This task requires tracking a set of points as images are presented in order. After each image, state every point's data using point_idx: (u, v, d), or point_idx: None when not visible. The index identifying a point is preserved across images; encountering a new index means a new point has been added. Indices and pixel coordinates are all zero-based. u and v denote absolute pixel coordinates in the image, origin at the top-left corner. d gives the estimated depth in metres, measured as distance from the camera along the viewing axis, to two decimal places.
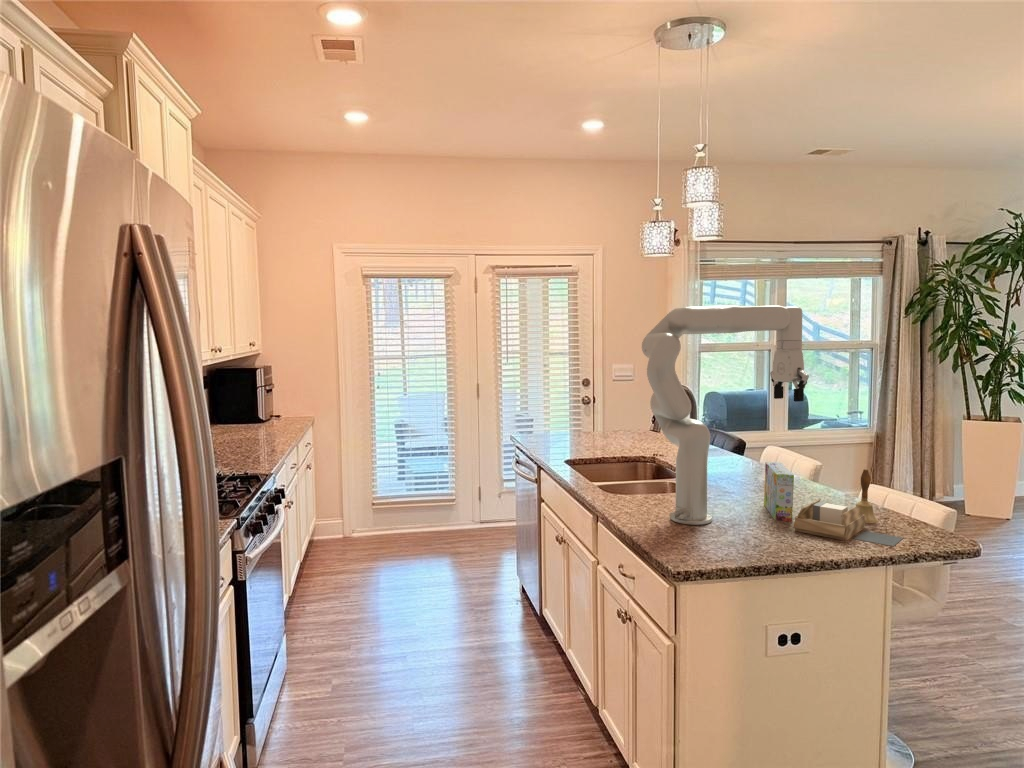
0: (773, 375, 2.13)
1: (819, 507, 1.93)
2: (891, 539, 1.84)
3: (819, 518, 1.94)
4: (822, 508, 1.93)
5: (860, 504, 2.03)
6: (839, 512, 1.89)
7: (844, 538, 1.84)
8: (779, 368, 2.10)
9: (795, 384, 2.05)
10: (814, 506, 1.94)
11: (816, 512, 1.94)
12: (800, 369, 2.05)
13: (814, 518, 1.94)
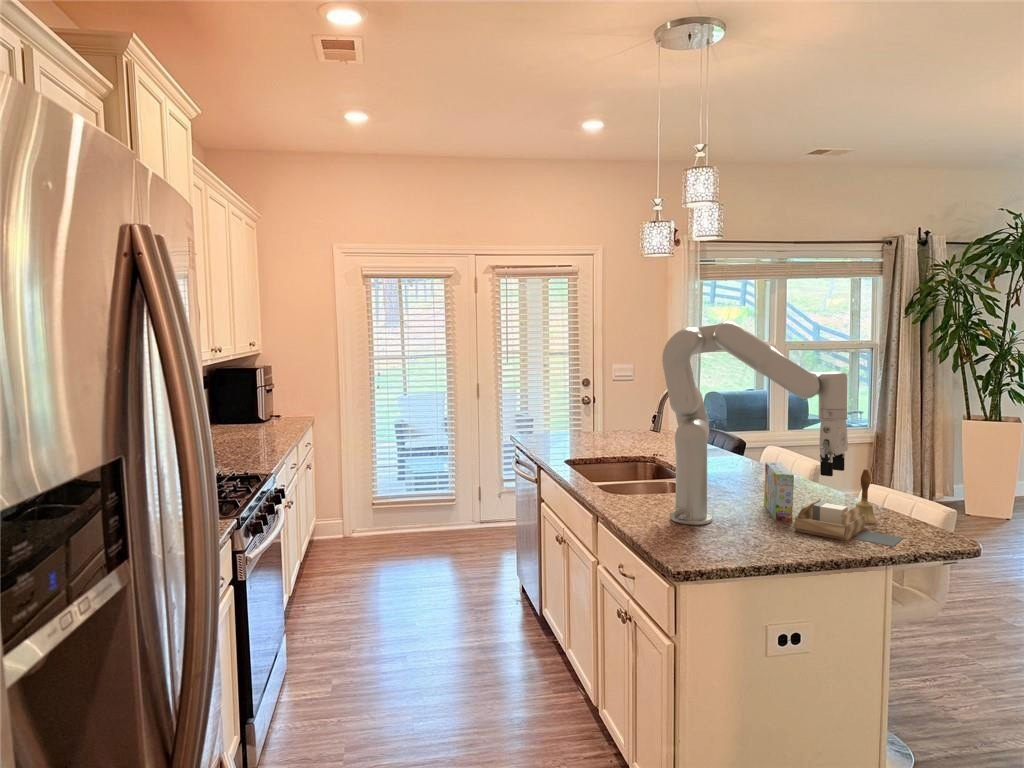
0: (837, 449, 1.87)
1: (819, 507, 1.93)
2: (891, 539, 1.84)
3: (819, 518, 1.94)
4: (822, 508, 1.93)
5: (860, 504, 2.03)
6: (839, 512, 1.89)
7: (844, 538, 1.84)
8: (842, 439, 1.89)
9: (843, 452, 1.95)
10: (814, 506, 1.94)
11: (816, 512, 1.94)
12: None
13: (814, 518, 1.94)
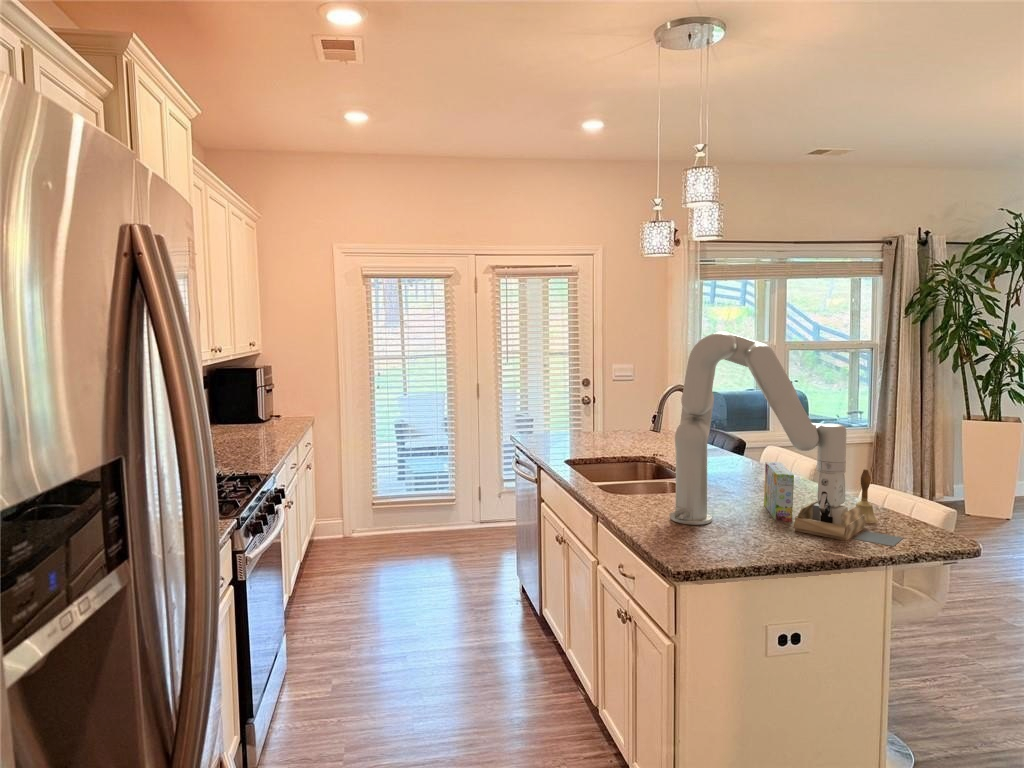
0: (835, 502, 1.89)
1: None
2: (891, 539, 1.84)
3: (819, 518, 1.94)
4: None
5: (860, 504, 2.03)
6: (839, 512, 1.89)
7: (844, 538, 1.84)
8: (839, 492, 1.91)
9: None
10: (814, 506, 1.94)
11: (816, 512, 1.94)
12: None
13: (814, 518, 1.94)
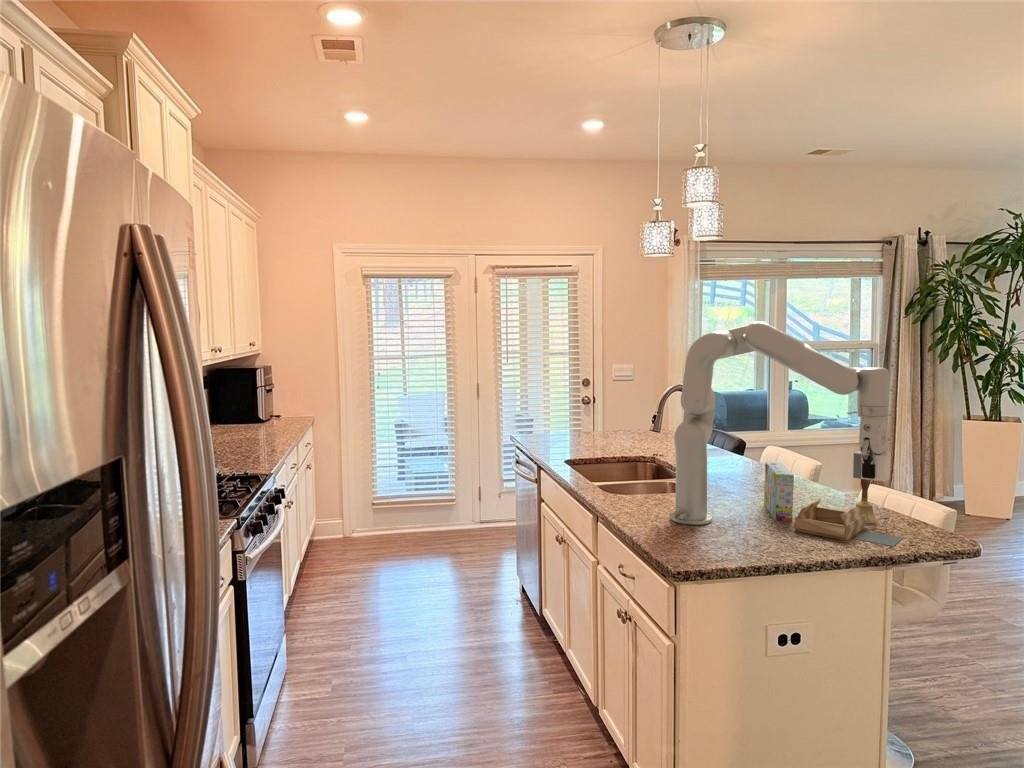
0: (878, 448, 1.80)
1: (860, 455, 1.85)
2: (891, 539, 1.84)
3: (860, 466, 1.85)
4: None
5: (860, 504, 2.03)
6: (882, 459, 1.81)
7: (844, 538, 1.84)
8: (882, 438, 1.82)
9: None
10: (855, 454, 1.86)
11: (857, 461, 1.85)
12: None
13: (855, 466, 1.86)
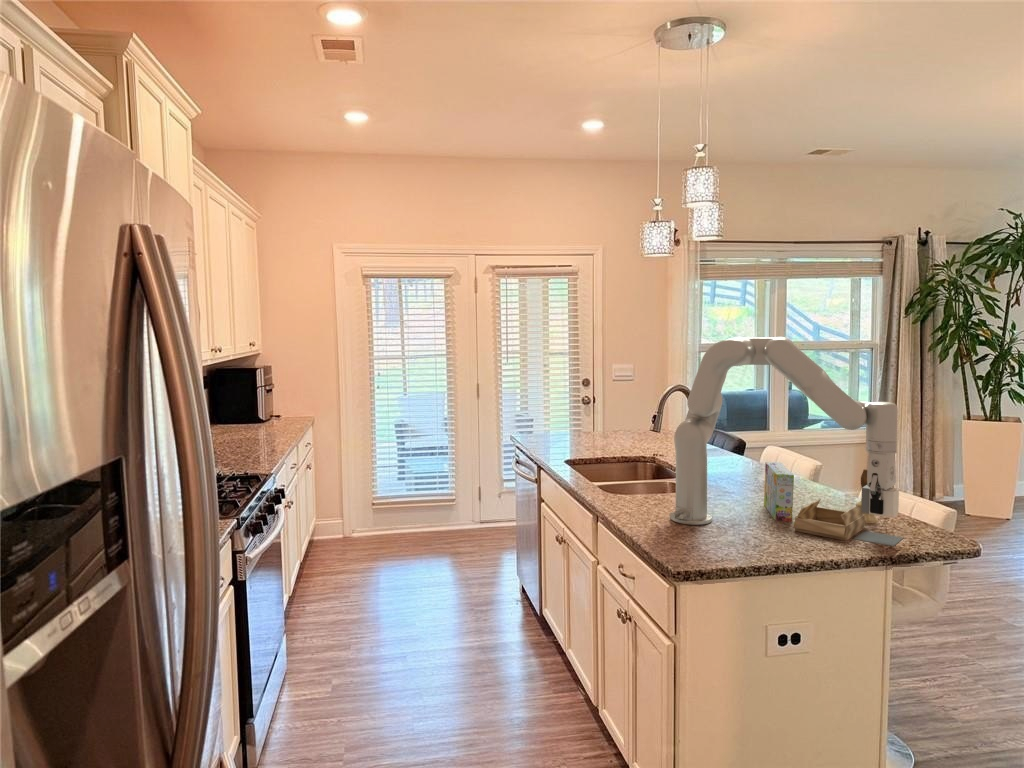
0: (887, 484, 1.79)
1: (869, 490, 1.84)
2: (891, 539, 1.84)
3: (868, 501, 1.84)
4: None
5: (860, 504, 2.03)
6: (891, 494, 1.80)
7: (844, 538, 1.84)
8: (890, 473, 1.81)
9: None
10: (863, 489, 1.85)
11: (865, 495, 1.84)
12: None
13: (863, 501, 1.85)
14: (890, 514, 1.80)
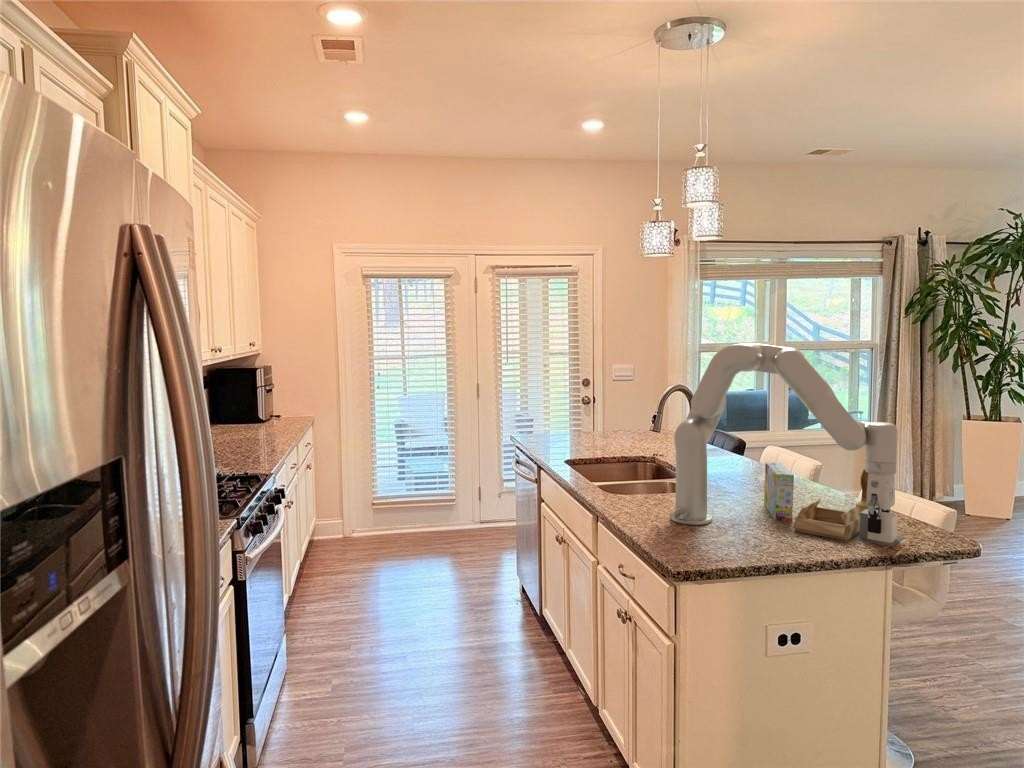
0: (886, 504, 1.80)
1: (867, 515, 1.84)
2: None
3: (867, 526, 1.84)
4: None
5: (860, 504, 2.03)
6: (889, 520, 1.80)
7: (844, 538, 1.84)
8: (890, 494, 1.81)
9: (889, 508, 1.87)
10: (862, 514, 1.85)
11: (863, 520, 1.85)
12: None
13: (861, 526, 1.85)
14: (888, 540, 1.81)
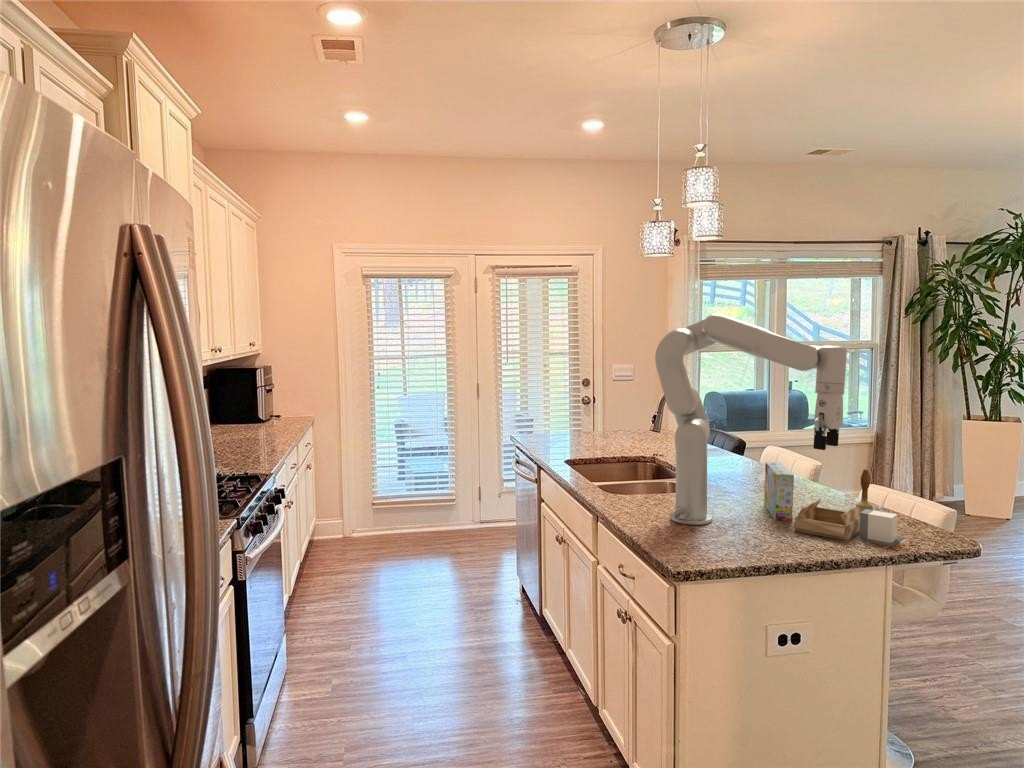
0: (832, 423, 1.87)
1: (867, 515, 1.84)
2: None
3: (867, 526, 1.84)
4: (870, 516, 1.84)
5: (860, 504, 2.03)
6: (889, 520, 1.80)
7: (844, 538, 1.84)
8: (837, 414, 1.89)
9: (838, 428, 1.94)
10: (862, 514, 1.85)
11: (863, 520, 1.85)
12: None
13: (861, 526, 1.85)
14: (888, 540, 1.81)
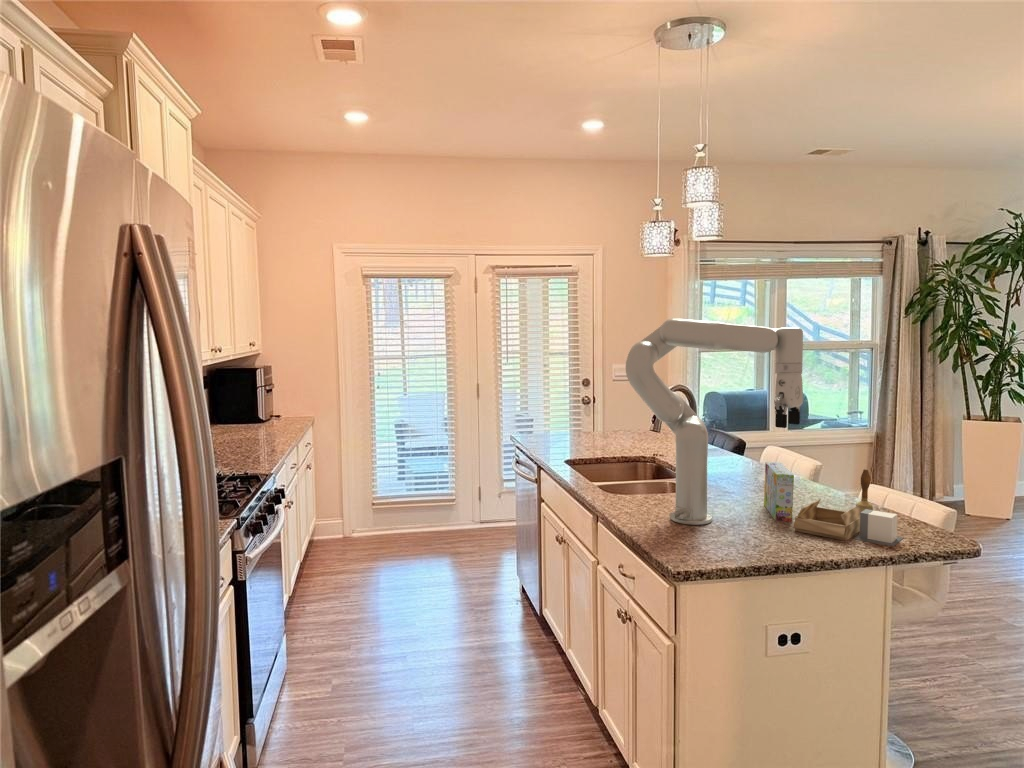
0: (792, 401, 1.94)
1: (867, 515, 1.84)
2: None
3: (867, 526, 1.84)
4: (870, 516, 1.84)
5: (860, 504, 2.03)
6: (889, 520, 1.80)
7: (844, 538, 1.84)
8: (796, 393, 1.95)
9: (799, 407, 2.01)
10: (862, 514, 1.85)
11: (863, 520, 1.85)
12: None
13: (861, 526, 1.85)
14: (888, 540, 1.81)
